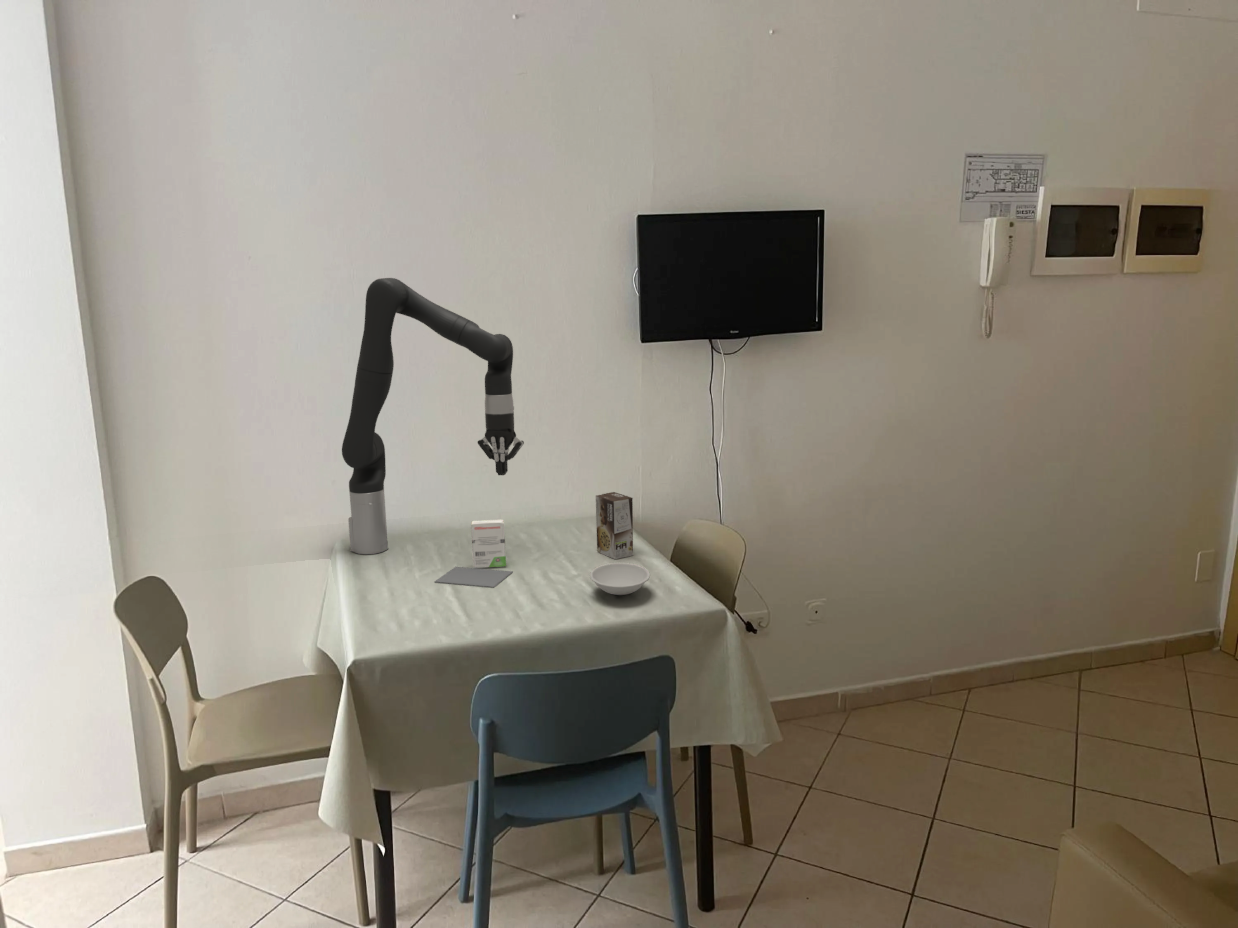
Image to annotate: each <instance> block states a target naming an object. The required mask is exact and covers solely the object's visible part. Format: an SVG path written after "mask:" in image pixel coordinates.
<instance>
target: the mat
mask: <svg viewBox="0 0 1238 928" xmlns="http://www.w3.org/2000/svg"><path fill="white" fill-rule="evenodd" d="M512 574H513V570H500V569H491V568H490V569H489V568H473V567H464V566H455V567H453V568H451V569H450V570H449V571H447V572H446V573H444V574H443V575H442V576H440V577H438V578H437V579H436V580H434V583H435V584H445V585H446V584H447V585H457V586H458V585H460V586H468V587H479V588H491V589H495V588H496V587H497V586H498V585H499V584H500V583H502V582H503V581H504V580H506V579H507V578H508V577H509V576H511V575H512Z"/></svg>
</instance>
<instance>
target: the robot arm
mask: <svg viewBox="0 0 1238 928" xmlns="http://www.w3.org/2000/svg"><path fill="white" fill-rule="evenodd" d="M364 309H365V311H364V327H363V334H362V339H361V344H360V350H359V357H358V360H357V361H358V362H357V364H356V365H357V366H356V371H355V372H356V374H355V379H354V387H353V394H352V399H351V400H352V401H351V408H350V413H349V419H348V423H347V426H346V431H345V433H344V438H343V441H342V445H341V455H342V458H343V460H344V462H345V464H346V465H347V466H349V467H350V468H352V469H353V470H352V471H353V472H352V474H351V477H350V479H349V481H348V491H349V503H350V505H349V506H350V517H349V518H348V520H347V521H348V532H349V534H348V535H349V546H350V547H349V548H350V552H352V553H353V552H354V553H356V554H357V555H358V554H359V555H373V554H374V555H375V554H379V553H383V552H386V551H387V550H388V549H389V546H388V526H387V512H386V499H385V483H384V482H385V479H386V475H387V474H386V470H387V469H386V448H385V444H384V440H383V438H382V437H381V435H379V433H377V432H376V425H377V421H378V417H379V415H380V413H381V411H382V409H383V406H384V404H385V403H386V400H387V398H388V396H389V392H390V389H391V385H392V379H393V375H394V364H395V362H394V361H395V360H394V354H393V353H394V352H393V347H392V346H393V345H392V331H393V326H394V322H395V321H394V320H395V316H396V314H398V315H402V316H406V317H409V318H412V319H415V320H416V321H418V322H420V323H422V324H424V325H425V326H427V327H428V328H429V329H431V331H433V332H435V333H436V334H438V336H441V337H442V338H444V339H445V340H448V341H450V342H452V343H454V344H456V345H459V346H461V347H463V348H466V349H467V350H468V351H470V352H471V353H473V354H474V355H475V356H476V357H479V358H481V359H482V360H484V361H486V362H487V371H486V373H485V376H484V393H485V394H484V395H485V397H484V415H485V416H484V418H485V433H484V436H483V437H482V438H481V439H479V440H478V441H477V444H478V446H479V448H481V450H482V451H483V452H484V454H485V455H486V457H487V458H488V459H489V460H493V461H494V462H495V473H496V474H497V475H498V476H505V475H506V474H507V473H508V470H509V469H508V468H509V467H508V461H510V460H513V458H515V456H516V455H517V454H518V452H519V451H520V450H521V448H522V447H523V445H524V444H525V442H524V440H521V439H519V438H518V437H517V434H516V432H515V414H514V413H515V412H514V411H515V406H514V399H513V384H512V369H513V360H514V359H513V358H514V347H513V343H512V340H511V339H510V338H509V336H507V335H505V334H503V333H496V334H493V333H491V332H488V331H486V330H484V329H482V328H480V326H479V324H478V323H476V322H474V321H473V320H470V319H468V318H466V317H464V316H462V315H461V314H458V313H456V312H454V311H451V310H449V309H447V308H445V307H443V306H441V305H438V304H436V303H434V302H433V301H431V300H429V299H428V298H427V297H425V296H423V295H421V294H420V293H418V292H417V291H415V289H413V288H412V287H410V286H408V284H405V282H403V281H402V280H400V279H398V278H396V277H395V278H394V277H383V278H377V279H375V280H374V281H372V282H371V283H370V284H369V286H368V287H367V290H366V294H365V308H364ZM511 446H513V447H512V448H511V450H510V447H511Z"/></svg>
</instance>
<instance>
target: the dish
mask: <svg viewBox="0 0 1238 928" xmlns="http://www.w3.org/2000/svg"><path fill="white" fill-rule="evenodd" d="M588 575H589V579H590V581H592V582H593V583H594V584H595V585H596V586H597V587H598V588H600V590H602V591H603V592H606V593H607V594H610V595H616V596H623V595H630V594H632V593H634V592H636V591H638V590H639V589H641V588H642V587H643V585H644V584H645V583H646V582H648V581H649V580H650V577H651V573H650V571H649V570H648V569H647V568H646V567H645V566H642V565H639V564H635V563H631V562H611V563H610V562H609V563H604V564H601V565H598V566H596V567H594V568H592V569H591V571H589V574H588Z"/></svg>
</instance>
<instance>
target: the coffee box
mask: <svg viewBox="0 0 1238 928" xmlns="http://www.w3.org/2000/svg"><path fill="white" fill-rule="evenodd" d="M633 500H634V497H631V496H628V495H625V494H621V493H618V492H615V491H611V492H605V493H602V494H598V495H595V522H596V523H595V524H596V550H597V551H596V552H597V553H599V554H602V555H604V556H606V557H608V558H611V559H612V560H613V559H614V560H617V559H622V558H623V559H624V558H628V557H632V556H634V534H633V533H634V525H633V523H634V522H633V521H634V516H633V513H634V511H633V505H634V504H633Z"/></svg>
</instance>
